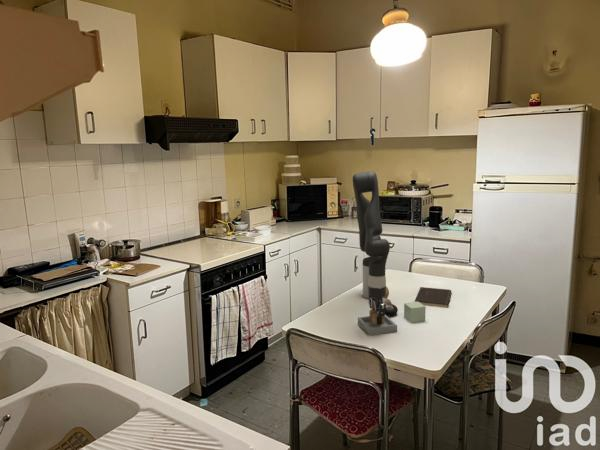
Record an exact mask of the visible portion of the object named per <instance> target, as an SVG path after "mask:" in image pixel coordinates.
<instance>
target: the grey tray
mask: <svg viewBox="0 0 600 450" xmlns="http://www.w3.org/2000/svg"><path fill="white" fill-rule="evenodd" d="M357 325H358V326H359V327H360V328H361V329H362V330H363V331H364V332H365V333H366V334H367V335H368V336H375V335H381V334H382V335H383V334H390V333H397V332H398V324H396V323H395V322H394V321H393V320H392V318H390V317H388V316H386V315H385V323H384V324H381V325H373V324H372V323H371V322H370V321H369V315H367V316H360V317H357Z"/></svg>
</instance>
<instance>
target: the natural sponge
mask: <svg viewBox="0 0 600 450" xmlns="http://www.w3.org/2000/svg"><path fill="white" fill-rule="evenodd" d="M389 294H390V290H389V288H388V286H386V295H385V296H384V297H383V298H387V299H388V297H389Z"/></svg>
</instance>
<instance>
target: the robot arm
mask: <svg viewBox="0 0 600 450" xmlns="http://www.w3.org/2000/svg"><path fill="white" fill-rule="evenodd" d="M352 187H353V193H354V196H355V197H354V198H355V205H356V208H355V209H356V217H357V218H356V219H357V223H358V224H357V225H358V231H359V232H358V236H359V238H358V239H359V242H358V243H359V248H360V251H361V252H364V253H365V254H366V256H367V257H364V258H363V259H362V297H363V298H365V299H368V302H369V304H368V305H369V309H370V310H375V311H376V313H377V324H378V325H379V324H382V316H385V309H386V304H383V300H382V298H383V297H384V296H385V295H386V287H387V279H386V278H387V277H386V265H387V260H388V256H389V253H390V249H391V247H390V246H391V245H390V243H389V240H387V239H385V238H381V234H382V233H383V226H382V219H381V211H380V210H381V209H380V192H379V180H378V176H377V173H376V172H375V171H374V170H369V171H362V172H358V173H354V174H353V176H352ZM370 192H371V199H370V200H368V199H367V198H366V197H365V195H364V193H365V194H366V193H370ZM378 308H379V309H378ZM378 311H379V313H378Z"/></svg>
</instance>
